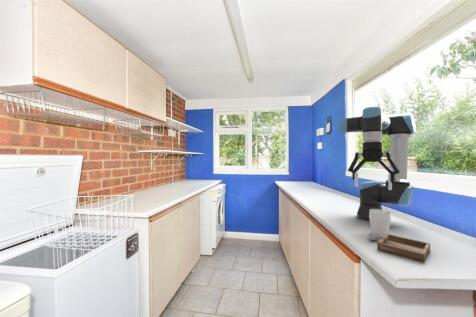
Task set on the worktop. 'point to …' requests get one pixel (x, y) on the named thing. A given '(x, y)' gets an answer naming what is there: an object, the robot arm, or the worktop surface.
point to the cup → (380, 221)
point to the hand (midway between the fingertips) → (372, 188)
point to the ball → (373, 236)
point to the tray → (404, 247)
